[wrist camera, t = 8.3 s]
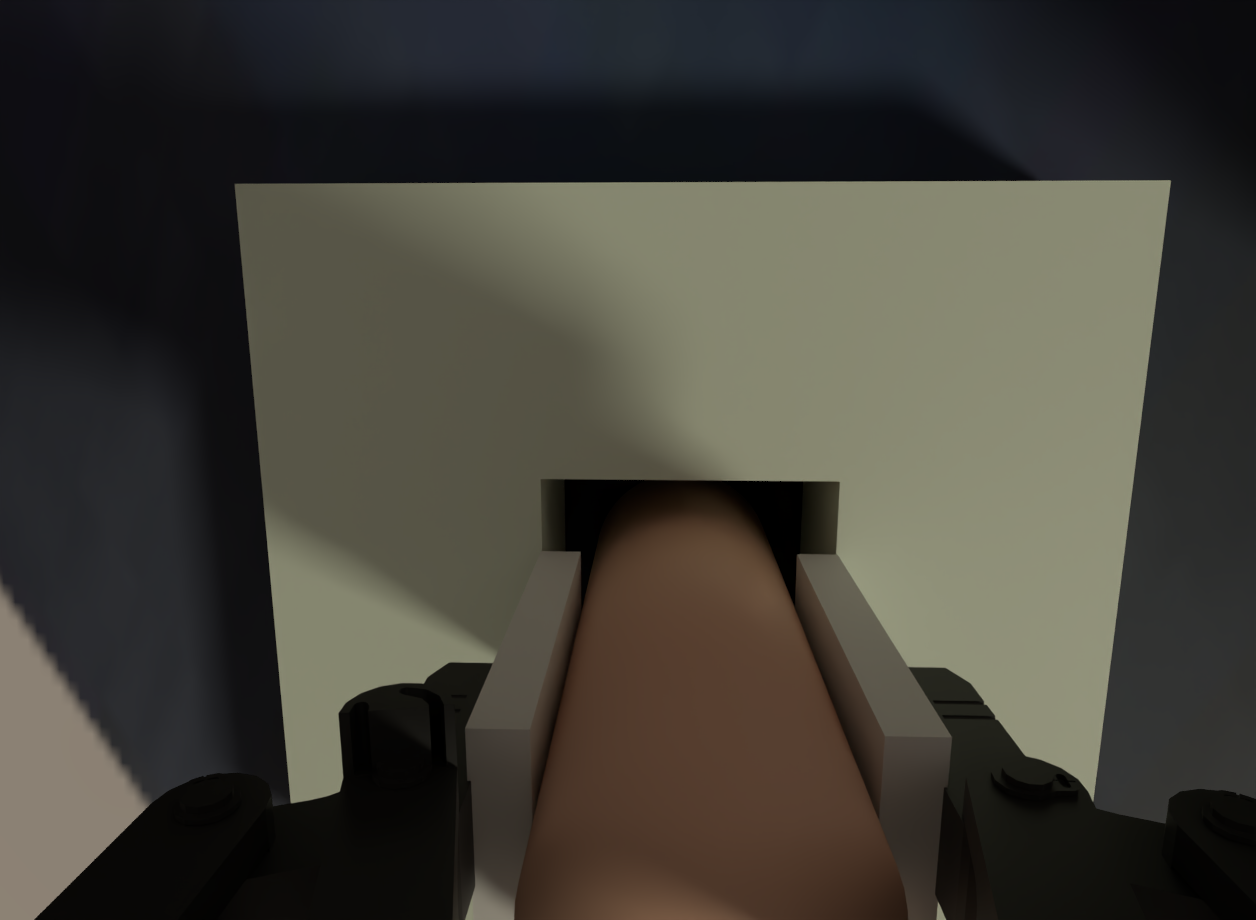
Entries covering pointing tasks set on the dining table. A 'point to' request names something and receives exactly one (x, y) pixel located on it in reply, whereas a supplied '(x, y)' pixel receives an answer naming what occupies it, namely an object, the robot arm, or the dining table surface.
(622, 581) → the peg
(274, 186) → the socket board
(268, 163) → the dining table surface
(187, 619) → the dining table surface
